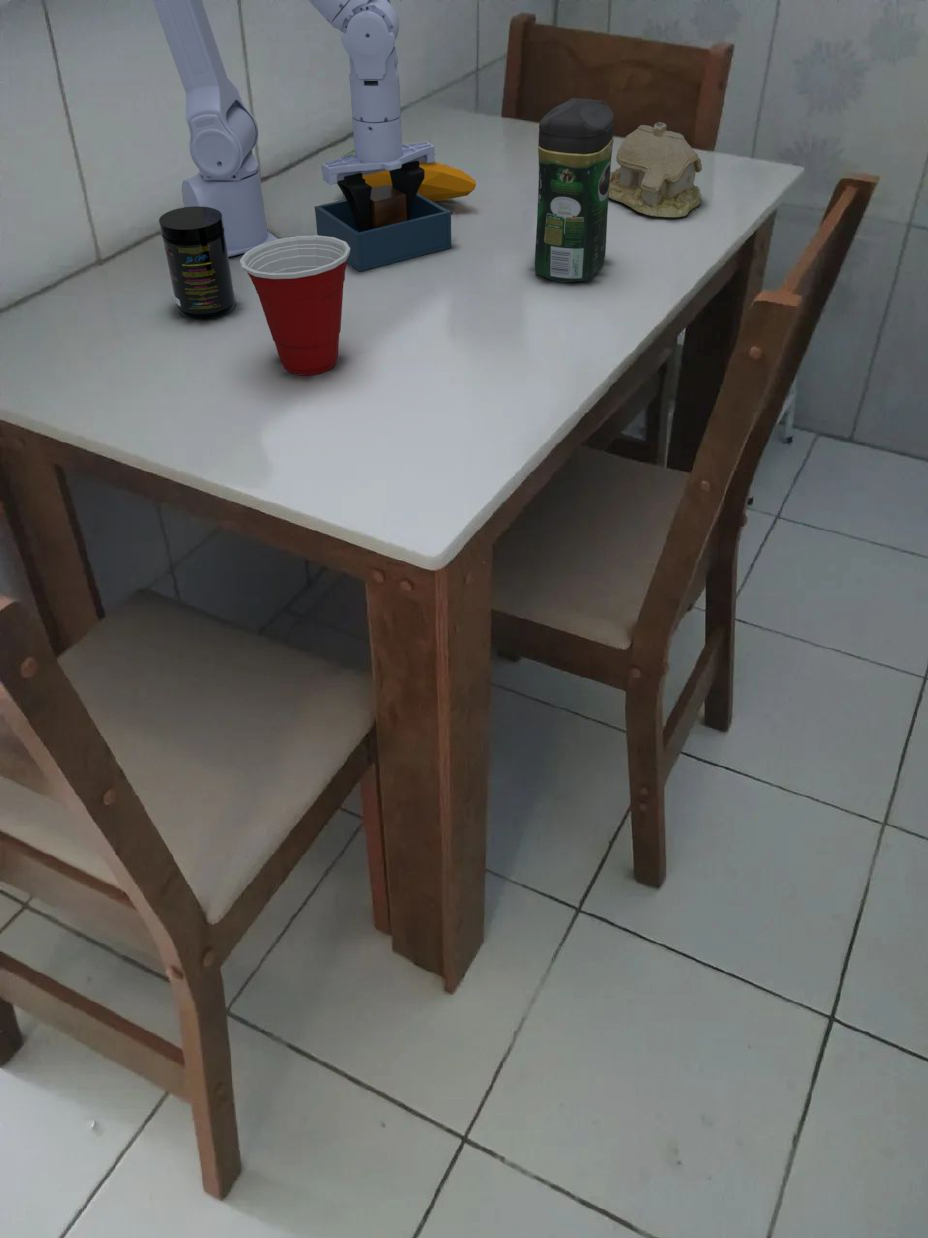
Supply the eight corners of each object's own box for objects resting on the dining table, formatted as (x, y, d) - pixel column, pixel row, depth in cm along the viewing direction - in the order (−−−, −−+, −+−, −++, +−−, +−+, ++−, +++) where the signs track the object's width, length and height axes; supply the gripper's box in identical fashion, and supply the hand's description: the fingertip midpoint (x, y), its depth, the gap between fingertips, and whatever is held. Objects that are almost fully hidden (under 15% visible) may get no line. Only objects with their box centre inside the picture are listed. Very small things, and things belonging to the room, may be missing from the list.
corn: (347, 128, 146) (485, 142, 141) (353, 184, 151) (486, 199, 146) (325, 149, 141) (467, 164, 136) (332, 205, 146) (469, 222, 141)
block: (377, 250, 132) (374, 201, 128) (361, 238, 135) (357, 190, 131) (408, 242, 134) (406, 194, 130) (391, 231, 137) (388, 183, 133)
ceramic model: (717, 201, 145) (729, 124, 138) (670, 224, 139) (679, 144, 132) (634, 177, 152) (641, 103, 146) (585, 199, 146) (590, 121, 140)
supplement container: (246, 312, 121) (231, 220, 114) (189, 327, 118) (171, 234, 111) (223, 291, 125) (208, 201, 118) (168, 305, 122) (149, 214, 115)
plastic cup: (308, 329, 117) (296, 220, 109) (380, 357, 112) (373, 245, 104) (234, 366, 111) (215, 253, 103) (306, 398, 106) (292, 282, 98)
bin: (359, 271, 129) (356, 234, 126) (318, 241, 136) (314, 206, 133) (451, 247, 134) (451, 211, 131) (407, 219, 141) (405, 185, 138)
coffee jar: (549, 249, 133) (556, 89, 121) (610, 257, 131) (624, 95, 119) (525, 279, 126) (530, 113, 114) (589, 289, 124) (601, 120, 112)
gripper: (337, 135, 119) (347, 253, 128) (446, 113, 125) (449, 228, 134) (309, 119, 124) (320, 234, 133) (416, 98, 130) (420, 210, 139)
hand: (383, 230), depth 134 cm, fingers open, 5 cm apart
